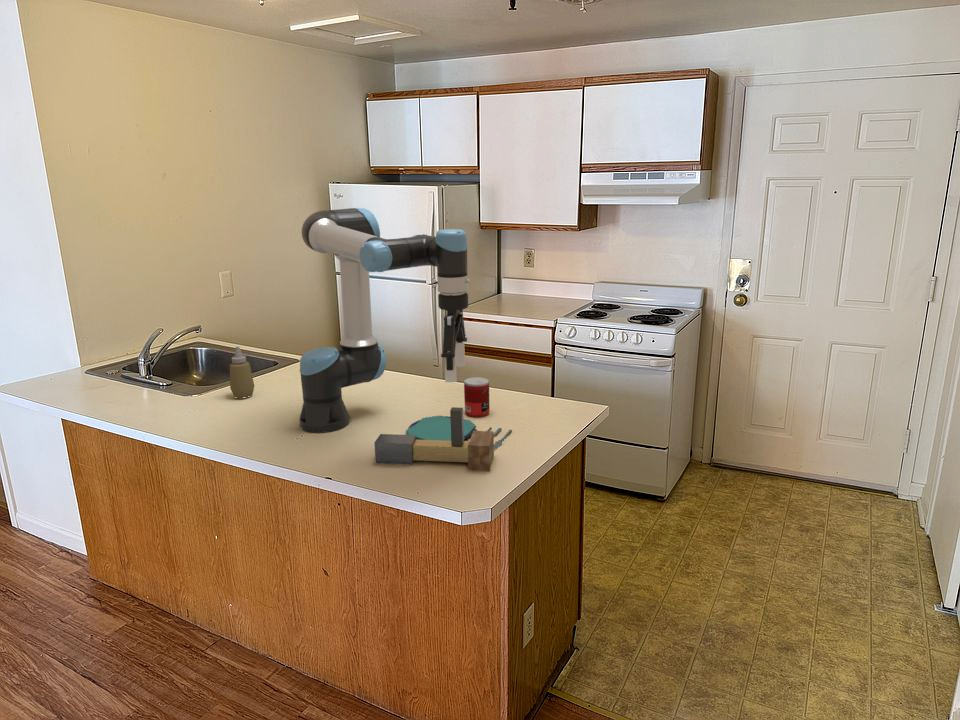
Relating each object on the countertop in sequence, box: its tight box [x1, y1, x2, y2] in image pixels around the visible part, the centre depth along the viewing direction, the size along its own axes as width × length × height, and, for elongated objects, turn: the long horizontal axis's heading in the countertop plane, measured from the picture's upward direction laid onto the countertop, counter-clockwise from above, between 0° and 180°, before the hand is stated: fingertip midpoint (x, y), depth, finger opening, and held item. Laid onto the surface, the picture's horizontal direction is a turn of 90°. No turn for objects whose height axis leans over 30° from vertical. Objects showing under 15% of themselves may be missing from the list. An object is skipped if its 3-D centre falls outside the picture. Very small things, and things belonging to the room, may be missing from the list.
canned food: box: [463, 377, 490, 418], centre depth 217 cm, size 8×8×11 cm
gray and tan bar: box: [412, 406, 470, 463], centre depth 182 cm, size 22×4×14 cm, turn 82°
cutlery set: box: [405, 415, 513, 452], centre depth 201 cm, size 20×30×2 cm, turn 66°
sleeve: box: [374, 433, 416, 466], centre depth 185 cm, size 10×6×6 cm, turn 82°
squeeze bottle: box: [229, 346, 255, 399], centre depth 237 cm, size 8×8×18 cm
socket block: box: [467, 430, 495, 472], centre depth 182 cm, size 6×10×7 cm, turn 172°
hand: (455, 373), depth 177 cm, fingers open, 13 cm apart
